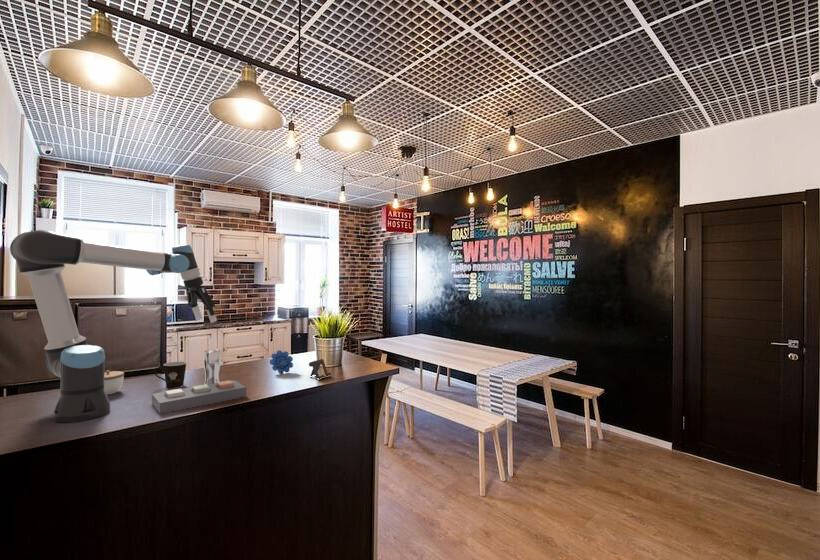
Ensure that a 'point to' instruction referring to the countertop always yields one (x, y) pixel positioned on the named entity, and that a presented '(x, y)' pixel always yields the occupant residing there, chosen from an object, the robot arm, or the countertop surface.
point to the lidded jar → (113, 381)
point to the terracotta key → (225, 384)
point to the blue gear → (281, 361)
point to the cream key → (174, 393)
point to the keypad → (197, 397)
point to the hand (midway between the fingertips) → (206, 320)
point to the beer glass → (212, 366)
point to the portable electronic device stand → (316, 367)
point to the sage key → (200, 388)
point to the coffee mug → (173, 374)
